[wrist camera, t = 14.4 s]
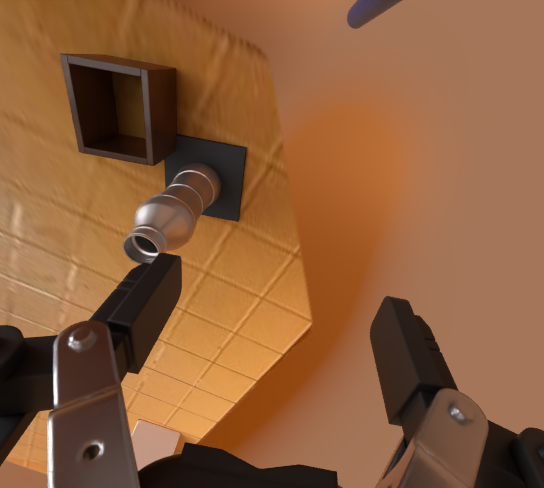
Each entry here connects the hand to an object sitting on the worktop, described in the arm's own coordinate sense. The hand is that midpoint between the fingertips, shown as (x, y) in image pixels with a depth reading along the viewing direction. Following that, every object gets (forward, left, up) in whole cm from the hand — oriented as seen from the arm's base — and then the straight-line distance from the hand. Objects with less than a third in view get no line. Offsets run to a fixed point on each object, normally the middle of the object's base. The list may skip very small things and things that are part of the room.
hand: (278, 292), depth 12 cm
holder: (+1, -22, -34) cm, 41 cm away
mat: (+10, -13, -34) cm, 38 cm away
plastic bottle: (+10, -13, -34) cm, 37 cm away
